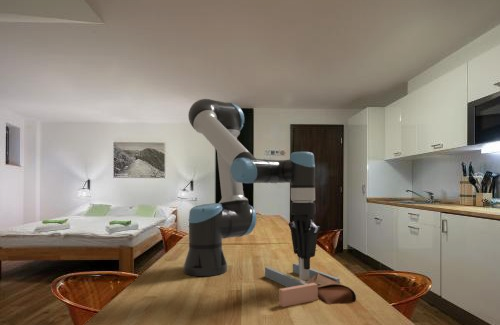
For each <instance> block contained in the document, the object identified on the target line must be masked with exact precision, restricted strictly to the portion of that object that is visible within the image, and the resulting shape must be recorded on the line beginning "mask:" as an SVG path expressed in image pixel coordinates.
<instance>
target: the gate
mask: <svg viewBox="0 0 500 325" xmlns="http://www.w3.org/2000/svg"><path fill="white" fill-rule="evenodd" d="M278 292H279V295H278V296H279V298H278V299H279V300H278V301H279V302H278V303H279V306H280V307H281V308H286V307H291V306H294V305H299V304H305V303H309V302H315V301H318V300H319V298H318V284H315V283H310V284H304V285H299V286H293V287H283V288H279V291H278Z"/></svg>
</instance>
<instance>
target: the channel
mask: <svg viewBox="0 0 500 325" xmlns="http://www.w3.org/2000/svg"><path fill="white" fill-rule="evenodd" d="M292 273H294V274H296V275H299V263H297V262H293V263H292ZM317 273H319V274H320V275H322V276H324V277H326V278H328V279H331V280H333V281H335V282H337V283H339V284H341V283H340V281H341V279H340V278H339V277H336V276H334V275H330V274H328V273H325V272H322V271H320V270H316V269H314V268H311V267H310V269H309V276H310V278H312V277H313V276H315V275H316V274H317ZM264 277H265V278H267V279H270V280H272V281H274V282H276V283H277V284H279V285H282V286H284V287H285V288H287V287H293V286H299V285H304V284H307V283H305V281H304V280H300V279H298V278H295V277H293V276H291V275H288V274H286V273H285V272H284V273H283V272H281V271H278V270H277V269H273V268H272V267H270V266H266V267H264Z"/></svg>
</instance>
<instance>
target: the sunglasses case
mask: <svg viewBox="0 0 500 325" xmlns="http://www.w3.org/2000/svg"><path fill="white" fill-rule="evenodd" d="M304 282H305V283H307V284H310V283H315V284H318V299H320V300H321V301H323V302H324V303H325V304H327V305H333V304H334V305H337V304H342V303H343V304H344V303H350V302H351V303H352V302H356V300H357V296H356V293H355V292H354V290H353V289H352V288H350V287H349V286H346V285H344V284H341V283H340V284H339V283H337V282H335V281H333V280H331V279H328V278H326V277H324V276H322V275H320V274H319V273H317V274H316V275H315V276H313V277H312V278H310V279H308V280H304Z"/></svg>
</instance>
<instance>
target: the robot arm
mask: <svg viewBox="0 0 500 325" xmlns="http://www.w3.org/2000/svg"><path fill="white" fill-rule="evenodd" d="M188 121H189V124H190V125H191V126H192V128H193V129H194V130H195V131H196V132H197V133H198V134H202V135H203V136H204V137H205V138H206V140H207V141H208V142H209V143H210V144H211V145H212V147H214V149H215V150H216V153H217V154H216V155H217V164H218V173H219V174H218V175H219V176H218V177H219V183H220V184H219V186H220V193H221V194H220V195H221V198H220V200H219V202H218V203H204V204H200V205H199V204H198V205H196V206H192V208H190V209H189V214H188V251H187V255H186V258H185V260H184V261H185V262H184V264H183V273H184V274H185V273H186V275H188V276H193V277H194V276H195V277H210V276H211V277H212V276H218V275H221V274H224V273H226V272H227V271H228V265H227V264H228V263H227V260H226V257H225V255H224V250H223V239H231V238H236V237H237V238H238V237H239V238H240V237H243V236H247V235H250V234H251V233H252V232H253V231H254V229H255V227H256V225H257V224H256V223H257V212H256V210H255V209H254V207H253V206H252V205H250V203H249V199H248V198H247V197H245V193H244V190H243V189H244V186H243V184H262V183H263V184H281V183H282V184H283V183H284V184H285V183H289V184H290V200H291V201H292V202H291V204H290V213H291V215H293V221H292V222H289V223H288V227H289V230H290V234H291V235H290V236H291V241H292V248H293V249H292V250H293V254H295V255H296V256H297V257H298V264H299V280H300V281H307V280H309V279H310V276H309V269H310V268H311V258H313V257H315V256H316V249H317V241H318V236H319V232H320V230H321V227H320V226H319V225H316V223H315V218H314V215H316V212H317V211H316V210H317V209H316V203H315V201H316V182H315V181H316V164H315V162H316V161H315V154H314V153H313V152H310V151H294V152H291V154H290V158H289V159H277V160H276V159H263V158H262V159H261V158H256V157H255V156H254V155H253V154H252V153H251V152H250V151H249V150H248V149H247V148H246V147H245V146H244V145H243V144H242V143H241V142H240V141H239V139H238V137H239V136H240V134H241V130H242V129H243V127H244V124H245V114H244V112H243V110H242V108H241V107H240V106H239V105H237V104H233V103H232V102H226V101H225V102H223V101H220V100H215V99H210V98H202V99H198V100H196V101H195V102H194V103H193V104H192V105H191V107H190V108H189V110H188Z"/></svg>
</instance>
